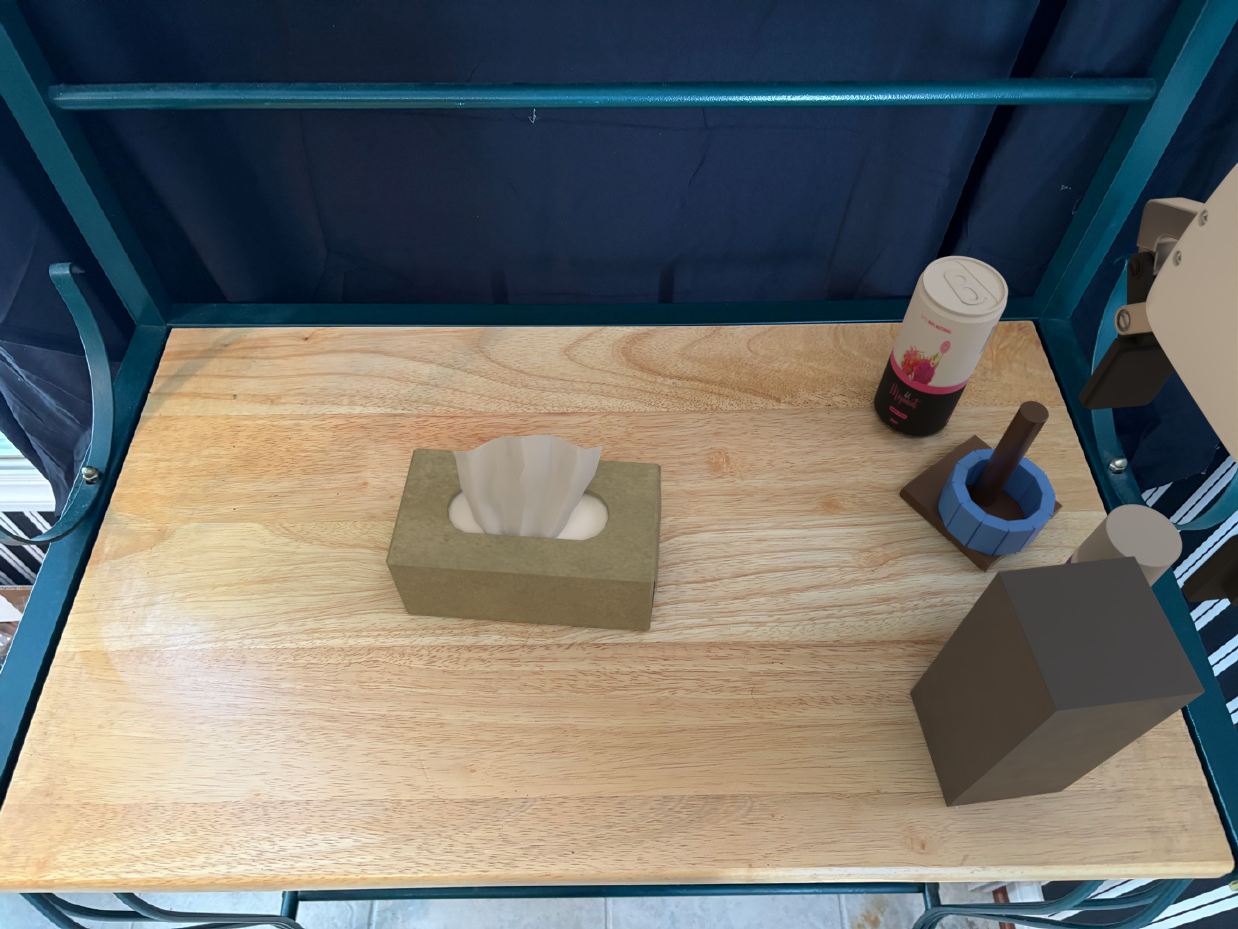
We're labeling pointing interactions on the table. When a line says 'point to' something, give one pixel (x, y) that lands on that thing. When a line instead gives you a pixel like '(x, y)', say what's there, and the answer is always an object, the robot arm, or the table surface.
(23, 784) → the table surface
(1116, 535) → the container
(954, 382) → the beverage can
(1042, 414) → the stand
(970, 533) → the ring
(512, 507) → the tissue box
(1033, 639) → the pedestal
